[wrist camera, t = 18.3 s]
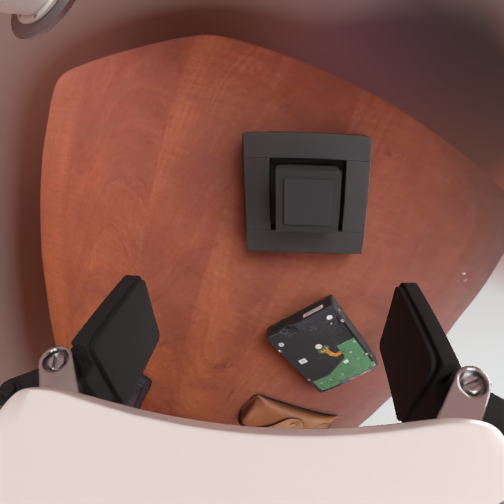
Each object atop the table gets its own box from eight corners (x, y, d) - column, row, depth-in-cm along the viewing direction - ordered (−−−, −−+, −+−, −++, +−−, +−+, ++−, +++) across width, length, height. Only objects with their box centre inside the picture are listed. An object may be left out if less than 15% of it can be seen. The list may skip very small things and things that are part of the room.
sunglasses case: (341, 416, 47) (332, 447, 44) (324, 415, 53) (315, 444, 50) (254, 392, 46) (242, 427, 43) (245, 393, 52) (234, 424, 49)
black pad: (277, 162, 29) (275, 170, 25) (335, 164, 28) (341, 172, 25) (277, 217, 32) (275, 232, 28) (332, 219, 31) (337, 234, 27)
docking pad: (246, 132, 29) (242, 133, 26) (365, 135, 27) (371, 137, 25) (250, 241, 34) (247, 250, 32) (357, 244, 33) (361, 254, 30)
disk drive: (266, 326, 40) (320, 381, 44) (264, 339, 37) (321, 394, 41) (330, 290, 36) (377, 355, 40) (332, 303, 34) (380, 368, 37)
